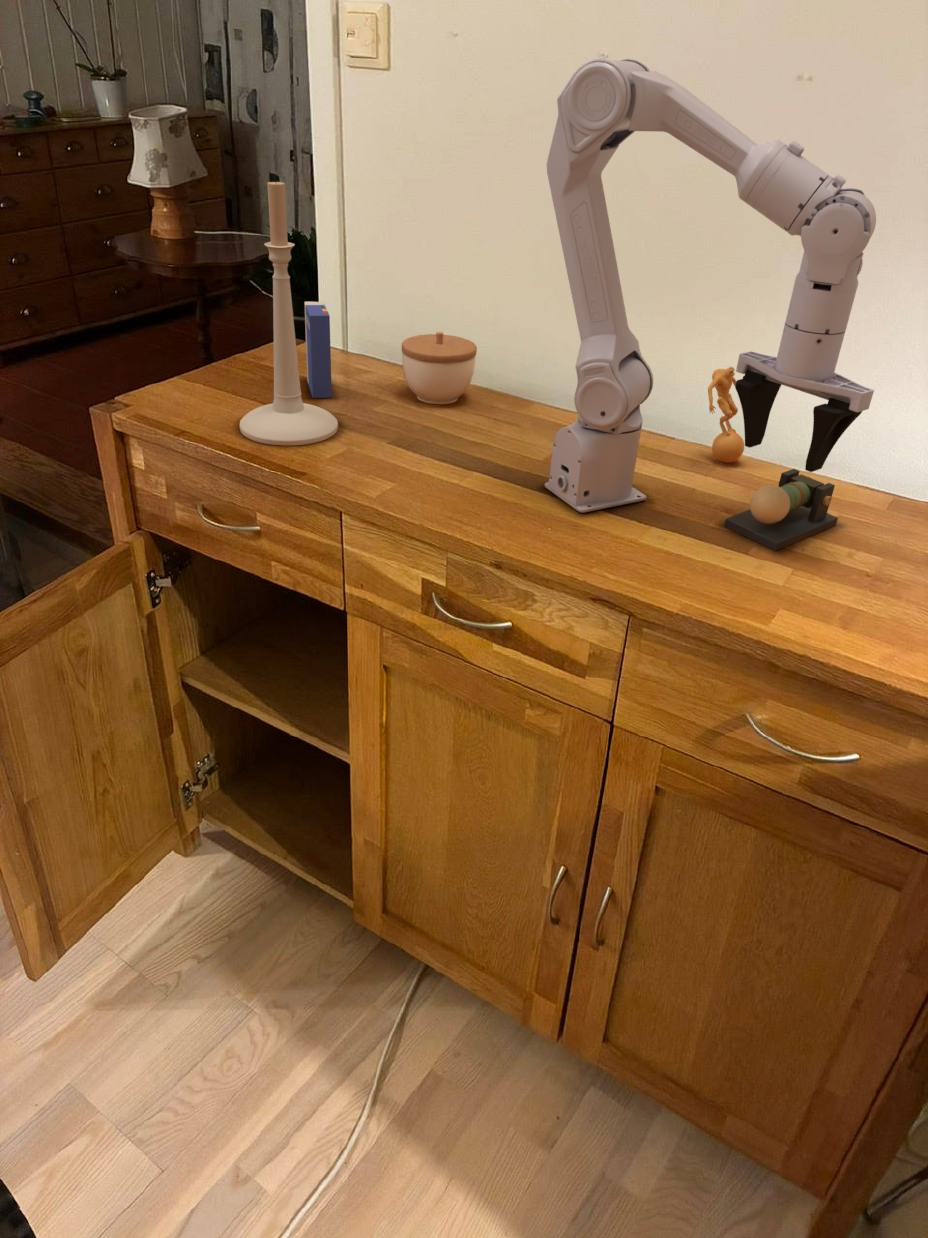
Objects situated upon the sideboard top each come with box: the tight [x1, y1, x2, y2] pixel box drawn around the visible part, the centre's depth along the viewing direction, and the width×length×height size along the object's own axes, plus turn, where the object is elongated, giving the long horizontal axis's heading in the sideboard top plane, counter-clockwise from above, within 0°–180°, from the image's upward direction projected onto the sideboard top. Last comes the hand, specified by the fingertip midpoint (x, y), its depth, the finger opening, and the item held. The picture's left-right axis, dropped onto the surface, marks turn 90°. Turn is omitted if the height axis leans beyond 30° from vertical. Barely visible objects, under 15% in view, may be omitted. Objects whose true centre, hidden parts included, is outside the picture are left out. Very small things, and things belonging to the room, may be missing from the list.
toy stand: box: [723, 468, 839, 552], centre depth 102 cm, size 12×7×5 cm, turn 128°
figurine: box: [707, 366, 745, 464], centre depth 116 cm, size 8×6×12 cm
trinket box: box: [401, 331, 478, 405], centre depth 132 cm, size 11×11×9 cm
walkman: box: [304, 301, 333, 399], centre depth 132 cm, size 8×3×12 cm, turn 14°
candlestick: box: [239, 178, 339, 446], centre depth 113 cm, size 13×13×30 cm
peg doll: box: [749, 473, 825, 524], centre depth 101 cm, size 4×4×10 cm
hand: (782, 456), depth 97 cm, fingers open, 7 cm apart
